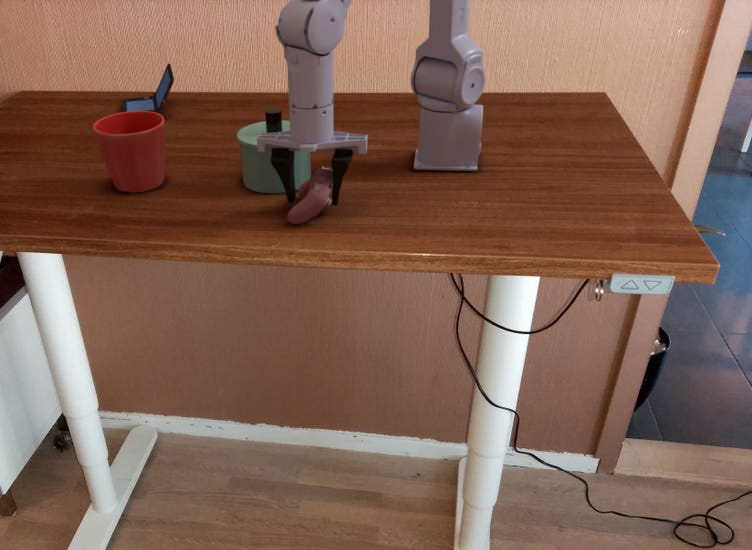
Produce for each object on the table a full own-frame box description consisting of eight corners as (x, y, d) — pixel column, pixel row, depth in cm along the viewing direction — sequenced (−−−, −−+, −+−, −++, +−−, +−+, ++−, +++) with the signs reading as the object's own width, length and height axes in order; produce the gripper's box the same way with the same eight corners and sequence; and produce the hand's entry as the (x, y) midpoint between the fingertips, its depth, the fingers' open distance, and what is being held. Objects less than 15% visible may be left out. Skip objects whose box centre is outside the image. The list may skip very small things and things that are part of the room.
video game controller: (314, 237, 98) (336, 194, 93) (283, 222, 97) (304, 178, 93) (324, 206, 105) (345, 165, 101) (296, 193, 105) (316, 151, 101)
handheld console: (122, 105, 148) (116, 67, 144) (174, 99, 149) (170, 61, 145) (123, 123, 138) (116, 83, 134) (179, 117, 139) (174, 77, 135)
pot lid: (305, 124, 112) (304, 96, 110) (318, 148, 103) (318, 118, 101) (233, 131, 111) (231, 103, 109) (241, 156, 102) (239, 126, 100)
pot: (304, 164, 116) (302, 121, 112) (316, 189, 107) (315, 143, 103) (240, 171, 115) (236, 128, 111) (247, 196, 106) (243, 151, 102)
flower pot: (117, 203, 107) (104, 139, 101) (96, 179, 115) (84, 119, 109) (183, 187, 111) (174, 124, 105) (158, 165, 119) (149, 105, 113)
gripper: (248, 111, 90) (256, 211, 98) (364, 112, 88) (362, 215, 95) (261, 95, 96) (267, 191, 104) (370, 95, 93) (367, 194, 101)
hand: (313, 201), depth 100 cm, fingers closed on video game controller, 5 cm apart
